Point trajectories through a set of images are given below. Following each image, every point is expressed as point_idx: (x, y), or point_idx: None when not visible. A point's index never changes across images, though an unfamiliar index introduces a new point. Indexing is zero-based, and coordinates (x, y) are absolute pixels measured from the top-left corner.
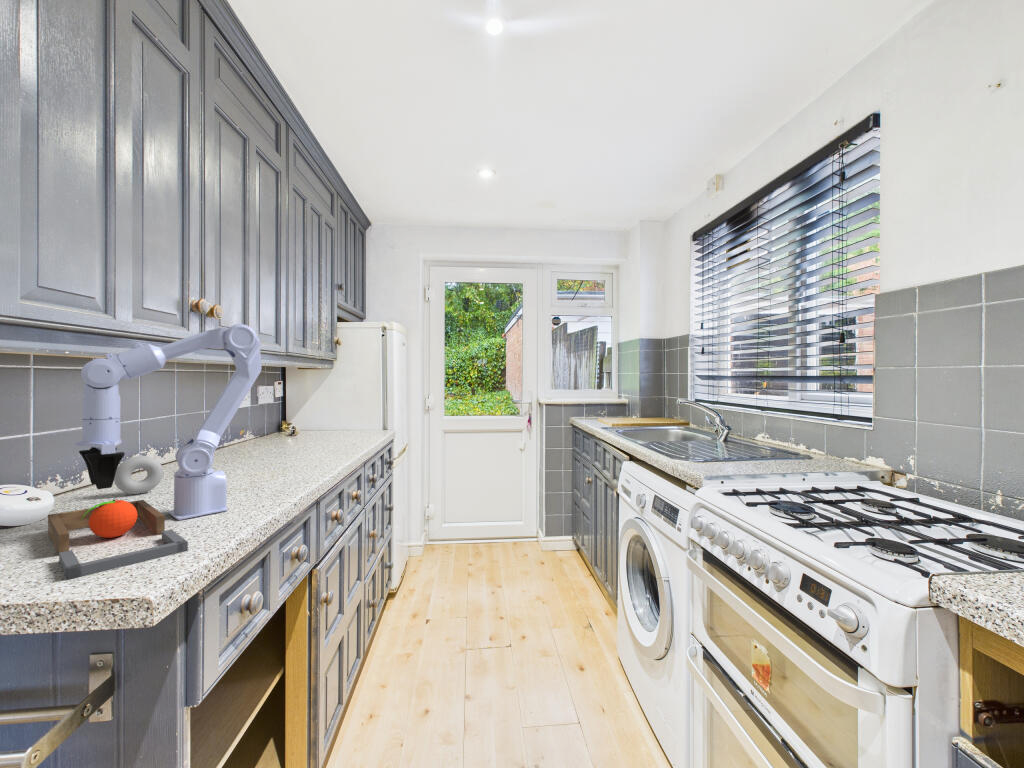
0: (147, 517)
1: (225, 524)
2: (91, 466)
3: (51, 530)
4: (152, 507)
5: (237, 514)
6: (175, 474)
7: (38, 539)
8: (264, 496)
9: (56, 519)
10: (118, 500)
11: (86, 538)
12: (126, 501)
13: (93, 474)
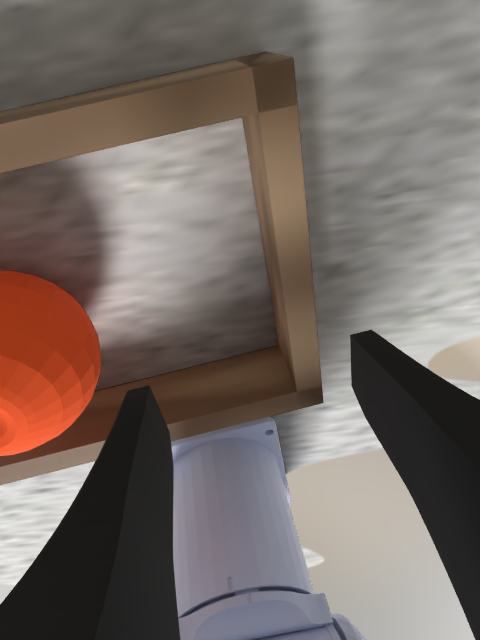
0: (114, 413)
1: (28, 533)
2: (77, 553)
3: (98, 95)
4: None
5: None
6: (224, 608)
7: (152, 22)
8: None
9: (120, 125)
10: (10, 436)
11: (52, 227)
12: (13, 452)
13: (127, 468)
